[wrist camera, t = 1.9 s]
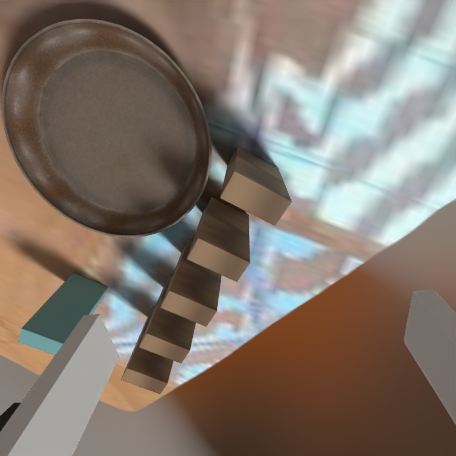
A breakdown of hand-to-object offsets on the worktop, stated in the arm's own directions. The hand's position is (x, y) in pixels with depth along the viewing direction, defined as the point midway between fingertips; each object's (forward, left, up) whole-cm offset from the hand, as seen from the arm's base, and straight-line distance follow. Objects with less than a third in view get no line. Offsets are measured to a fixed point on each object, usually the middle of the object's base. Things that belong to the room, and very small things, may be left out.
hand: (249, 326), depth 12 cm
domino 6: (0, +2, -21) cm, 21 cm away
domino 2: (0, -5, -21) cm, 22 cm away
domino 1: (-12, -24, -21) cm, 35 cm away
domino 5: (0, -24, -21) cm, 33 cm away
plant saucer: (-14, -3, -22) cm, 26 cm away
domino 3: (0, -11, -21) cm, 24 cm away
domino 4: (0, -18, -21) cm, 28 cm away
